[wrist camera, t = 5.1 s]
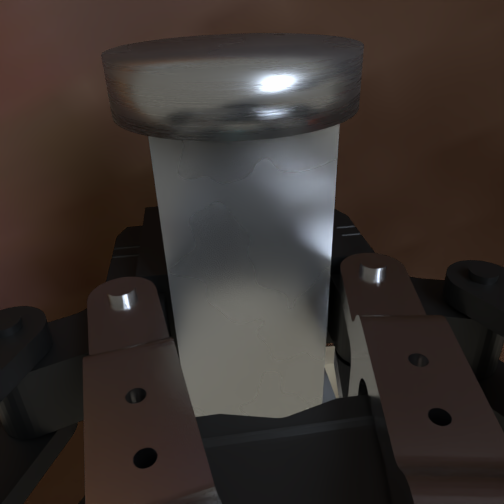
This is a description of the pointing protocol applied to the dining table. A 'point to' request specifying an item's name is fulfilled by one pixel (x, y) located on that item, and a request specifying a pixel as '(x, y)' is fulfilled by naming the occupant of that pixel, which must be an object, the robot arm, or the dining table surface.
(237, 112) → the shaft
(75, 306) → the dining table surface
